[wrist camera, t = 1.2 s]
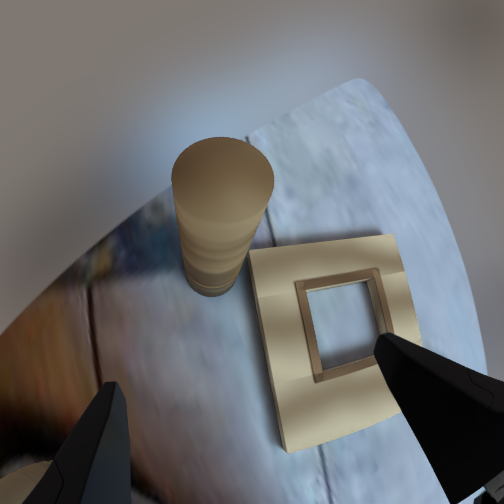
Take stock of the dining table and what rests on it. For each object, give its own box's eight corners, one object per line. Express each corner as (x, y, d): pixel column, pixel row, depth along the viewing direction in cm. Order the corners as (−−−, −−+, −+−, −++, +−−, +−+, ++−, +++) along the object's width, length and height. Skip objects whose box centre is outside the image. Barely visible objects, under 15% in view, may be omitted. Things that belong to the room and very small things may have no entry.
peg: (241, 293, 23) (286, 217, 11) (188, 300, 22) (173, 228, 10) (232, 244, 24) (264, 134, 12) (182, 250, 23) (168, 140, 11)
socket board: (422, 396, 22) (431, 397, 21) (283, 449, 19) (288, 454, 18) (386, 238, 27) (393, 233, 26) (246, 255, 24) (249, 249, 23)
